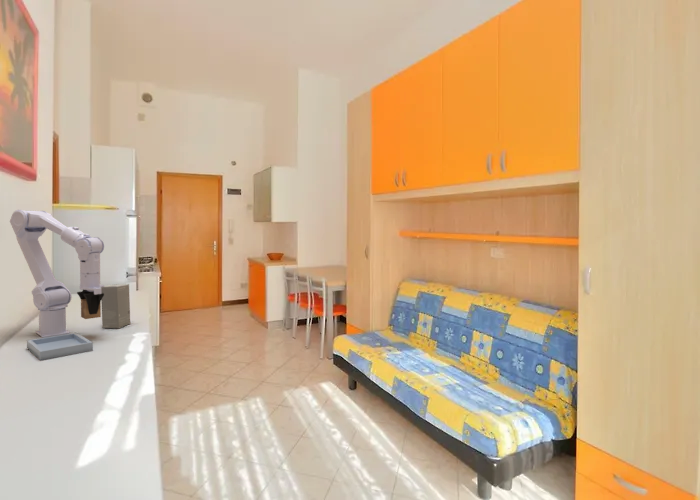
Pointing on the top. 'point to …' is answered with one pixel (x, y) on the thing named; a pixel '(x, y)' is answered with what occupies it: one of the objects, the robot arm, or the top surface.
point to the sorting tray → (59, 346)
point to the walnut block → (85, 310)
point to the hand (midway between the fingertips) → (90, 312)
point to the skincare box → (115, 306)
